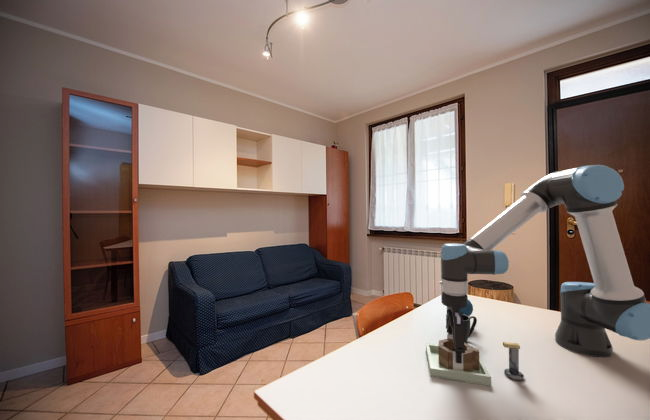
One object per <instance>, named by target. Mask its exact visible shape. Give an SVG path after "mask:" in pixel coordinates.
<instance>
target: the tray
mask: <svg viewBox="0 0 650 420" xmlns="http://www.w3.org/2000/svg"><path fill="white" fill-rule="evenodd" d="M438 346H439V344H435V343H434V344H433V343H425V353H426V359H427V364H428V370H429V376H430V378H436V379H443V380H449V381H457V382H461V383H462V382H463V383H470V384H477V385H485V386H490V387H491V386H492V376H491V374H490V373H489V370H488V369H487V366H486V365H485V363H484V361H483V360H482V358H481V355H479V364H480V370H478V369H473V370H472V371H469V372H466V371H459V370H452V369H446V368H445V367H443V366H442V365H440V364H439V347H438Z"/></svg>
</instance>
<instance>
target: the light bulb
mask: <svg viewBox="0 0 650 420" xmlns="http://www.w3.org/2000/svg"><path fill="white" fill-rule="evenodd" d="M460 311H461V313H462V314H464V315H467V316H468V317H469V316H472V314H473V312H474V305H473V304H472V302H471V301H470V300H469V299H468V305H467V307H465V308H461V309H460Z"/></svg>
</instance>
